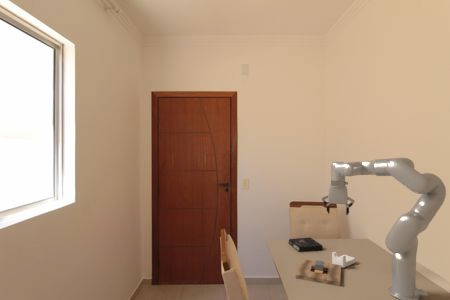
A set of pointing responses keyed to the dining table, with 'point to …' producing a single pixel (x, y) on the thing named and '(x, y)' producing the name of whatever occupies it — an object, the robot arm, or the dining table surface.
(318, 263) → the block
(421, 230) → the robot arm
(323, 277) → the plate
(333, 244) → the dining table surface
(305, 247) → the portable cd player
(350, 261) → the bracket
